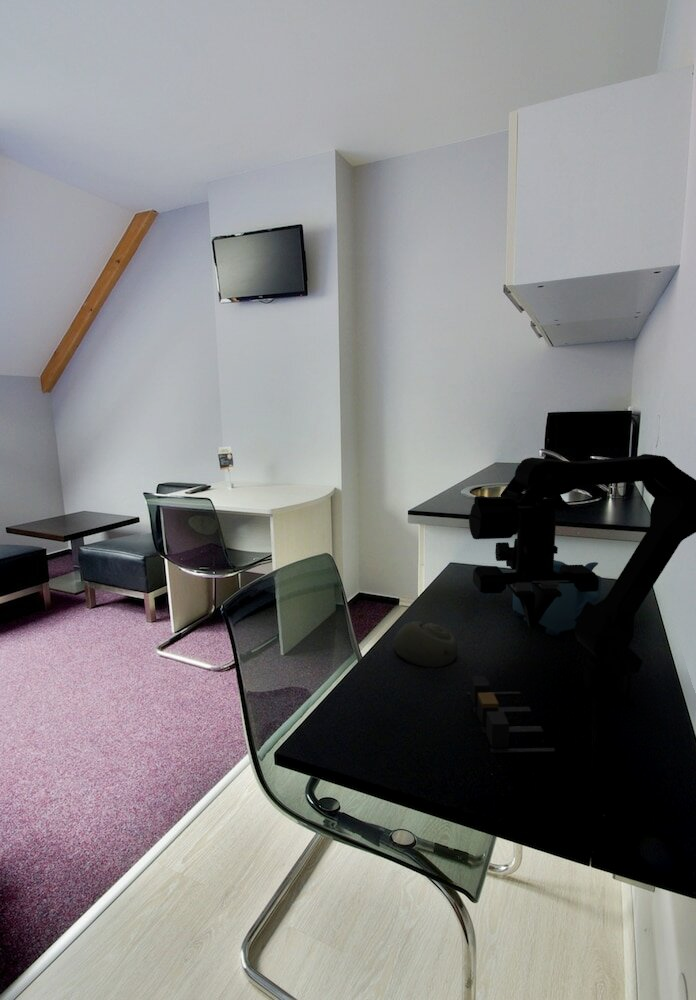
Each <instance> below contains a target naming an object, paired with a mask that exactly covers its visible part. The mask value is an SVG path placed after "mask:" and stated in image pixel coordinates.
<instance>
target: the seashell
mask: <svg viewBox="0 0 696 1000" xmlns="http://www.w3.org/2000/svg"><path fill="white" fill-rule="evenodd" d="M393 645H394V647H393V648H394V649H395V652H396V654H397V655H398V656H399V657H400V658H402V659H403V660H404V661H407V662H409V663H411V664H413V665H417V666H419V667H420V666H421V667H425V668H441V667H443V666H448V665H450V664H451V663H453V662H454V661H455V659H456V657H457V654H458V642H457V640H456V638H455V637H454V635H453V634H452V633H451V632H450V631H449V630H448V629H446V628H445V627H442V626H440V625H438V624H436V623H431V622H430V623H426V624H424V623H423V622H421V621H411V622H408V623H406V624H404V625H402V627H401V628H400V629H399V630H398V631H397V633H396V635H395V637H394V640H393Z"/></svg>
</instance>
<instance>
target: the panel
mask: <svg viewBox="0 0 696 1000" xmlns="http://www.w3.org/2000/svg"><path fill="white" fill-rule="evenodd" d="M492 692H493V693H494V695H495V696H498V695H500V696H501V695H506V696H507V695H522V692H521V691H492ZM466 694H467V696H470V691H466ZM472 709H473V712H474V713H475V714H477V707H473V708H472ZM498 711H503V712H504V713H531V712H532V709H531V708H530V706H499V709H498ZM480 728H481V731H482V733H485V734H486V726H481V727H480ZM543 732H544V729H543V728H542V726H541V725H522V726H521V725H520V726H519V725H515V726H510V725H509V733H543ZM490 752H491V753H492V754H493V753H496V754H497V753H499V754H500V753H550V752H551V753H553V752H554V753H555V752H556V749H555V748H554V747H531V748H529V747H526V748H523V747H522V748H521V747H520V748H490Z"/></svg>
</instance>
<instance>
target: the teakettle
mask: <svg viewBox="0 0 696 1000" xmlns="http://www.w3.org/2000/svg"><path fill="white" fill-rule="evenodd" d="M562 565H568V564H567V563H565V562H563V561H560V560H555V559H554V565H553V570H554V571H555V572H559V571H560V567H561V566H562ZM598 565H599V562H595V561H594V562H589V563H587V564H585V565H584V566H585V567H586V568H588V569H589V570H591V571H592V572H593V570H594V569H595V568H596V567H597V566H598ZM513 572H516V570H515V569H513ZM596 575H597V574H596ZM597 576H598V579H599V586H598V591H594V592H580V591H579V590H578V589H577V588H576V587H575V586H574V583H562V584H559V586H558V590H559V591H560V592H561V593H562V596H561V597H556V598H555V600H554V601H553V602H552V603H551V605H550V606H549V607H548V608H547V610H546V611H545V613H544V615H543V616H542V618H541V619H540V621H539V623H538V625H541V626H543V627H545V628H546V629H545V634H547V635H550V636H559V635H560V634H561V633H563V632H565V631H570V630H574V628H575V625H576V623H577V622H576V621H575V618H577V617H578V616H579V615H580V613H581V612H582V610H583V607H584V605H585V604H586V603H587V602H590V603H592V604H593V605H595V604H597V603H599V602H601V591H602V589H601V588H602V576H600V575H597ZM522 579H523V578H522ZM531 591H532V584H531ZM532 592H533V591H532ZM512 610H514V611H515V612H517V613H519V614H520V615H522V616H524V618H523V621H524V622H526V623H527V621H526V618H525V615H524V612H523V608H522V605H521V602H520V600H519V598H518V597H516V596H515V595H514V594H513V593H512Z"/></svg>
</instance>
